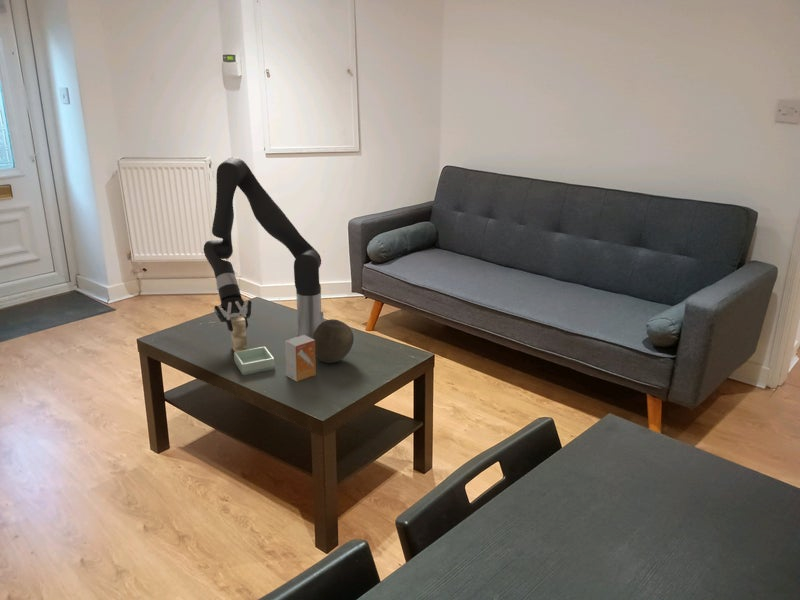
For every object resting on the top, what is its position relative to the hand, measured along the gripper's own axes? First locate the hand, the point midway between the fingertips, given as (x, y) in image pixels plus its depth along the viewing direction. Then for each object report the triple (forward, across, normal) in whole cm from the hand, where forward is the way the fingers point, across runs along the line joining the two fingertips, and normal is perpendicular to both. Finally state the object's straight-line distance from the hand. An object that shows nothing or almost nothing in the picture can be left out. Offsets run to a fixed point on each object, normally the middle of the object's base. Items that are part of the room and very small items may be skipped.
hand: (238, 329), depth 241 cm
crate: (+16, +1, -5) cm, 17 cm away
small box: (+27, +13, -15) cm, 33 cm away
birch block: (+5, 0, +6) cm, 8 cm away
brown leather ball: (+22, +27, -10) cm, 36 cm away
